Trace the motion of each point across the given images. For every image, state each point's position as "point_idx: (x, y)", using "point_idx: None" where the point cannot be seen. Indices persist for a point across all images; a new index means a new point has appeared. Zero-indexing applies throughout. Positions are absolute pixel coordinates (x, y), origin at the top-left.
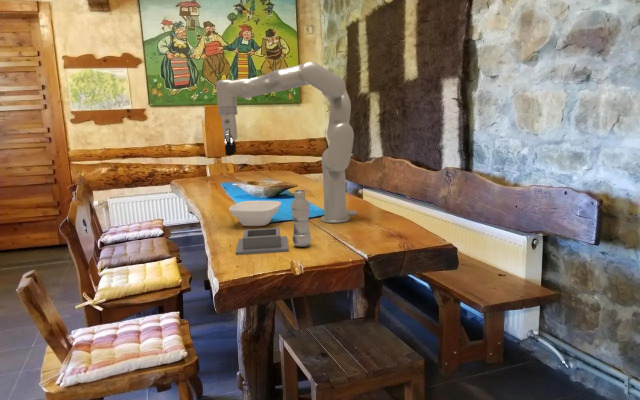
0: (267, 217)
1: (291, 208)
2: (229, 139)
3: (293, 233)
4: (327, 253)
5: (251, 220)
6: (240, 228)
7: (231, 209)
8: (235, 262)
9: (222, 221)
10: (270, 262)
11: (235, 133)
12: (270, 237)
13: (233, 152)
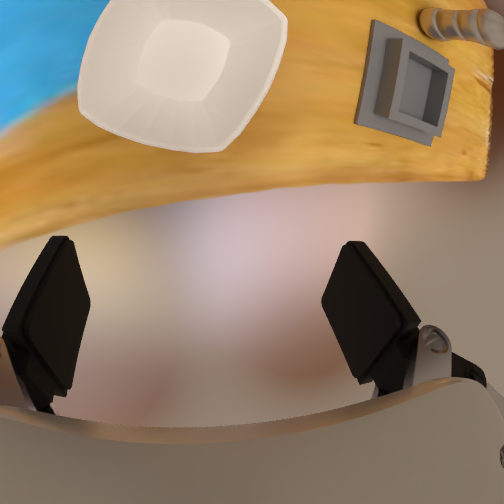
0: (244, 24)
1: (491, 47)
2: (482, 384)
3: (445, 37)
4: None
5: (236, 74)
6: None
7: (228, 143)
8: (452, 152)
9: (109, 169)
10: (470, 106)
11: (494, 474)
12: (450, 86)
13: (375, 257)
